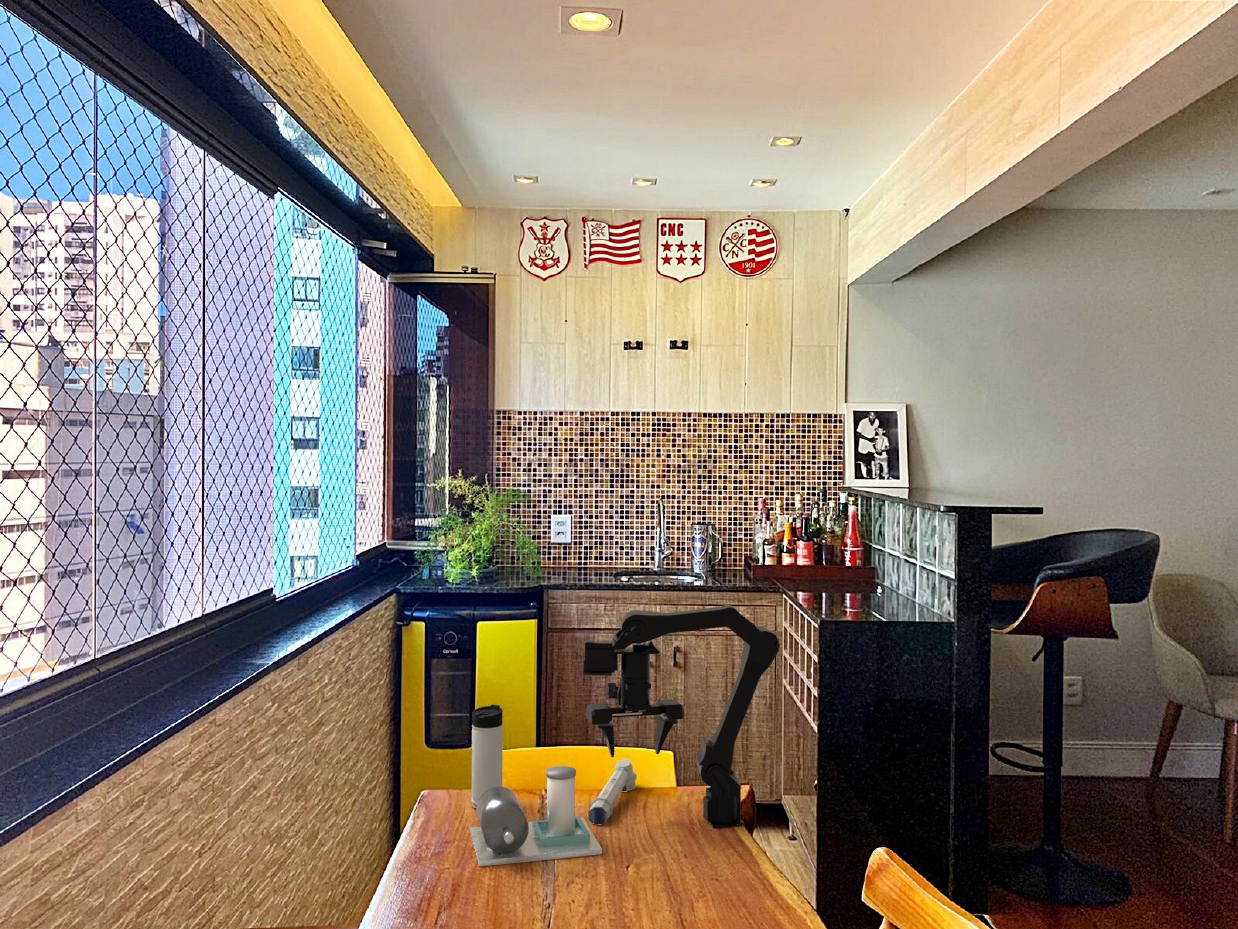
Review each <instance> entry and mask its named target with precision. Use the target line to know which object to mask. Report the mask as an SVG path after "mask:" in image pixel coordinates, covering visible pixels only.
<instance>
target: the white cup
mask: <svg viewBox="0 0 1238 929" xmlns="http://www.w3.org/2000/svg"><path fill="white" fill-rule="evenodd" d="M576 776H577V769H576V768H575V767H571V766H567V765H566V766H565V765H558V766H551V767H549V768H547V769H546V770H545V777H546V820H547V837H552V836H563V835H574V834H575V817H576V810H575V809H576Z"/></svg>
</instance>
